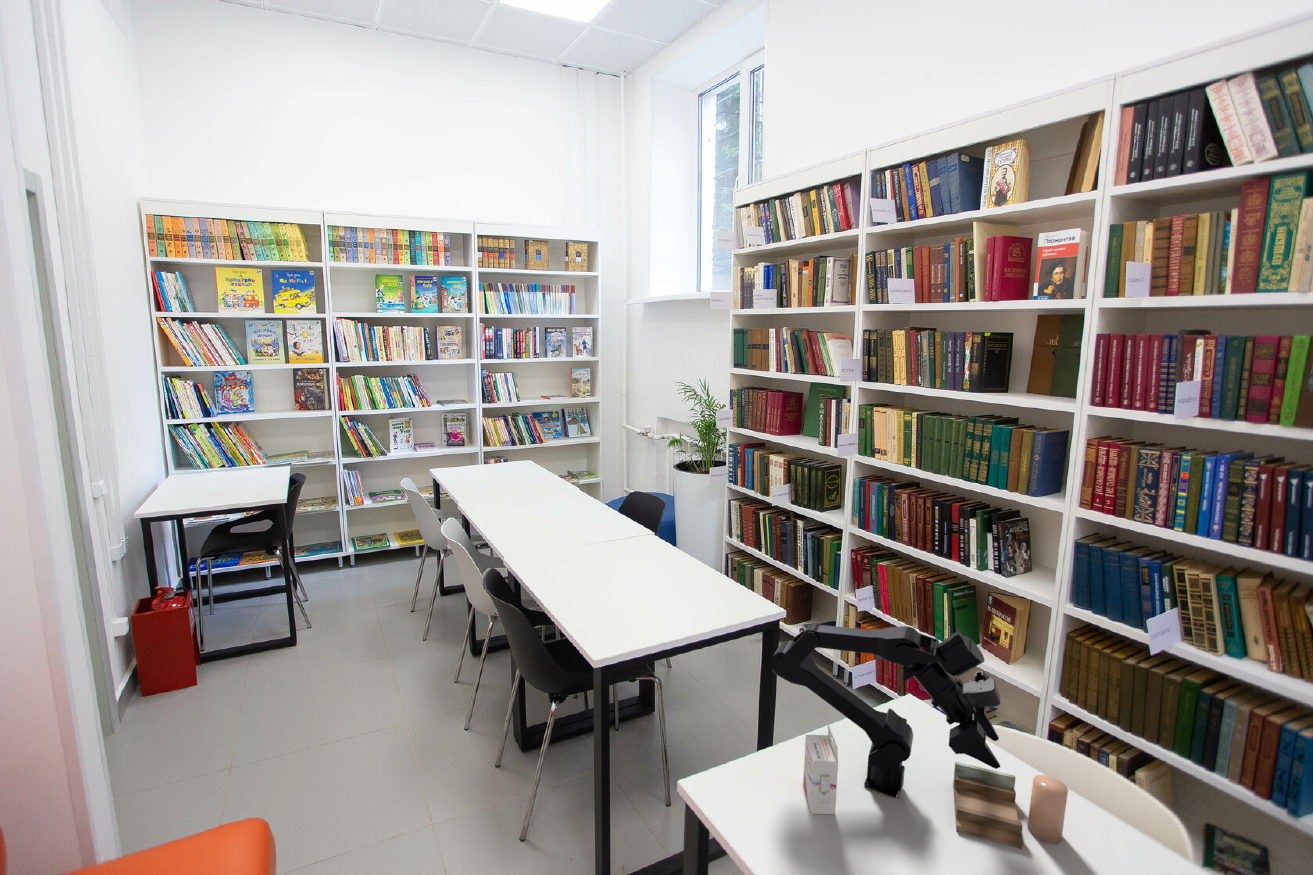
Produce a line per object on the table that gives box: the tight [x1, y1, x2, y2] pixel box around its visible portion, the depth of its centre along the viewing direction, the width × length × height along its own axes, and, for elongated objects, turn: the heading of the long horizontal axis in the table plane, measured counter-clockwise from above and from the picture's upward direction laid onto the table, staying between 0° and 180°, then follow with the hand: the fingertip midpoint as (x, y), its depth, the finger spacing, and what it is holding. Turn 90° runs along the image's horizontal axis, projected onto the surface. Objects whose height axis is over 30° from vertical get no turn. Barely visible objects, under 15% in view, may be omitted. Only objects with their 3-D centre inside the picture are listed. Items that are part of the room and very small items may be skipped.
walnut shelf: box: [952, 761, 1024, 850], centre depth 127 cm, size 11×14×5 cm
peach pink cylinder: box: [1027, 774, 1069, 845], centre depth 122 cm, size 6×6×10 cm
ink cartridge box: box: [802, 722, 839, 815], centre depth 130 cm, size 9×5×15 cm, turn 179°
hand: (997, 753), depth 125 cm, fingers open, 9 cm apart
